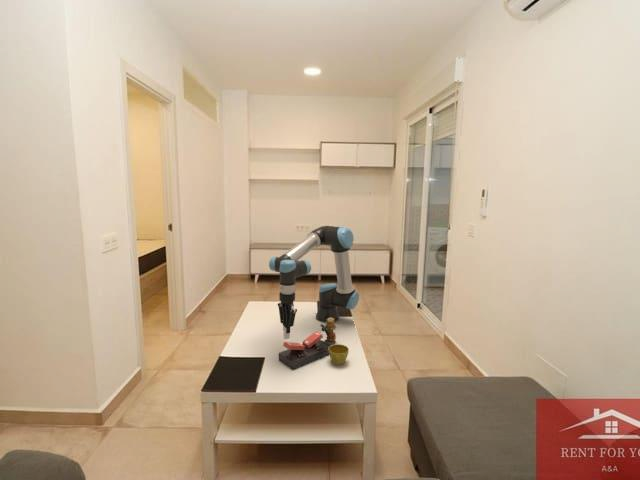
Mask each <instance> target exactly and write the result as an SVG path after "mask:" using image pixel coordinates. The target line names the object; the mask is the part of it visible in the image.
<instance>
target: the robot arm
mask: <svg viewBox="0 0 640 480" xmlns="http://www.w3.org/2000/svg"><path fill="white" fill-rule="evenodd" d="M353 245H354V234H353V232H352V230H351V229H349V228H348V227H344V226H333V225H323V226H320V227H318V228H315V229H314V230H311V231H310V232H309V233H308V234H307V235H306V237H305V238H304V239H302V240H301V241H299V242H298V243H297V244H295V245H294V246H292V247H291V248H290V249H288V250H287V251H285V252H284V253H283V254H282V255H280V256H273V257H271V258H270V259H269V262H268V267H269V269H270V270H271V271H272V272H276V273H279V298H278V299H279V301H280V302H278V303H277V307H278V313H279V321H280V324H281V325H282V326H283V329H282V331H283V339H284V340H285V341H286V340H289V339H291V328H292V327H294V325H295V319H296V314H297V312H298V309H297V308H295V305H294V302H295V300H296V279H297V278H300V277H304V276H306V275H308V274H310V273H311V271H312V264H311V263H310V262H309V261H308V260H306V259H305V260H304V259H302V258H303V257H304V256H305V255H307V254H308V253H310V252H311V251H312V250H313V249H314V248H318V247H320V246H329V247H330V251H331V252H332V253H333V256H334V264H335V265H334V266H335V271H336V279H337V281H336V282H337V283H334V282H332V283H330V282H329V283H324V284H321V285H320V286H319V288H318V290H319V291H318V308H317V313H316V314H315V316H316V317H315V319H316V320H317V321H319V322H321V323H325V324H326V321H327V319H328V318H333V319H335V323H337V322H338V321H339V320H340V315H339V311H338V307H339V308H344V309H347V310H354V309H355V308H356V307H357V305H358V303H359V300H360V293H359V291H357V290H356V289H355V286H354V284H353V283H352V274H351V263H350V255H349V251H350V250H351V248H352V246H353ZM301 259H302V260H301Z"/></svg>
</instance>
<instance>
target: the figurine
mask: <svg viewBox="0 0 640 480" xmlns="http://www.w3.org/2000/svg"><path fill="white" fill-rule="evenodd" d="M337 325H338V323H336V322H335V319H333V318H328V319H327V321H326V323H325V325H324V324H323V323H320V327H321V331H322V332H325V335H326V339H324V340H323V341H324V342H326V343H328V344H330V345H335V344H336V343H337V341H336V339H337V336H336V332H334V330H335V331H336V330H337Z"/></svg>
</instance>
